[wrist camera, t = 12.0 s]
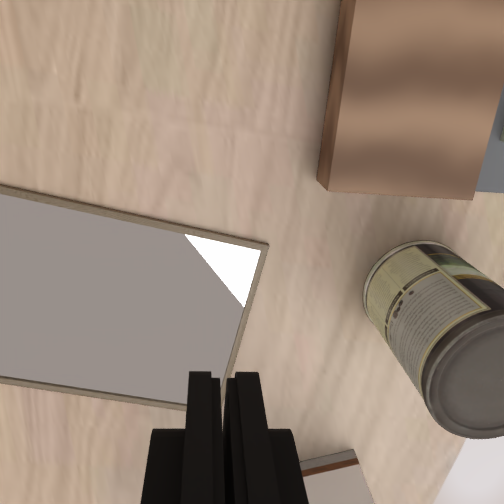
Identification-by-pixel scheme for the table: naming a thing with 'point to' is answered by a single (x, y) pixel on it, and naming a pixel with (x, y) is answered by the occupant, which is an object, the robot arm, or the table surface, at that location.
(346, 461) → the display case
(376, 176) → the brown wooden flat block
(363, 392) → the table surface
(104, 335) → the picture frame
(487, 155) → the mat
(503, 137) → the block
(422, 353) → the coffee can
